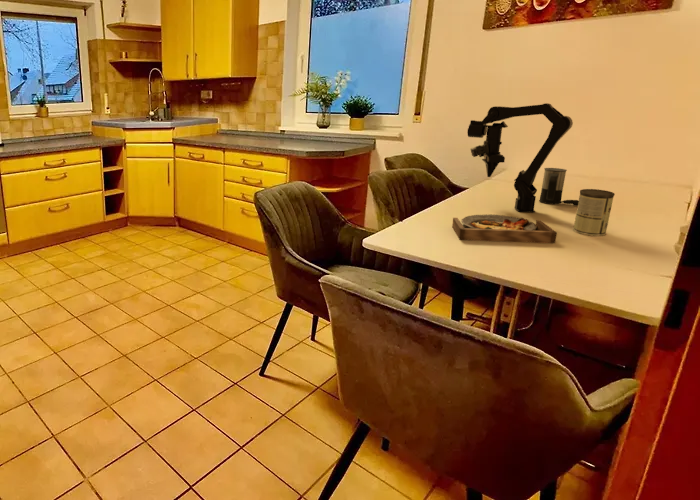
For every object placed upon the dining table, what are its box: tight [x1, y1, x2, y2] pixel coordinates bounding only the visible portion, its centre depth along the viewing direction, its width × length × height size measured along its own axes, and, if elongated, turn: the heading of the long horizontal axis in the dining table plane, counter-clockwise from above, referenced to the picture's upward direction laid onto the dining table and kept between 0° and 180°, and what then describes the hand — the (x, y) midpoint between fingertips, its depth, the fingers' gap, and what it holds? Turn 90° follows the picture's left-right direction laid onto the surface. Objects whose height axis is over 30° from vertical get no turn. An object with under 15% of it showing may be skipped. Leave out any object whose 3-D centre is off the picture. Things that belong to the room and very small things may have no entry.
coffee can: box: [572, 188, 615, 237], centre depth 152 cm, size 10×10×14 cm
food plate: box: [460, 213, 538, 231], centre depth 156 cm, size 25×23×4 cm
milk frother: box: [538, 167, 579, 207], centre depth 193 cm, size 14×16×15 cm
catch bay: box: [451, 217, 558, 244], centre depth 148 cm, size 30×14×4 cm, turn 87°
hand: (488, 176), depth 186 cm, fingers closed
